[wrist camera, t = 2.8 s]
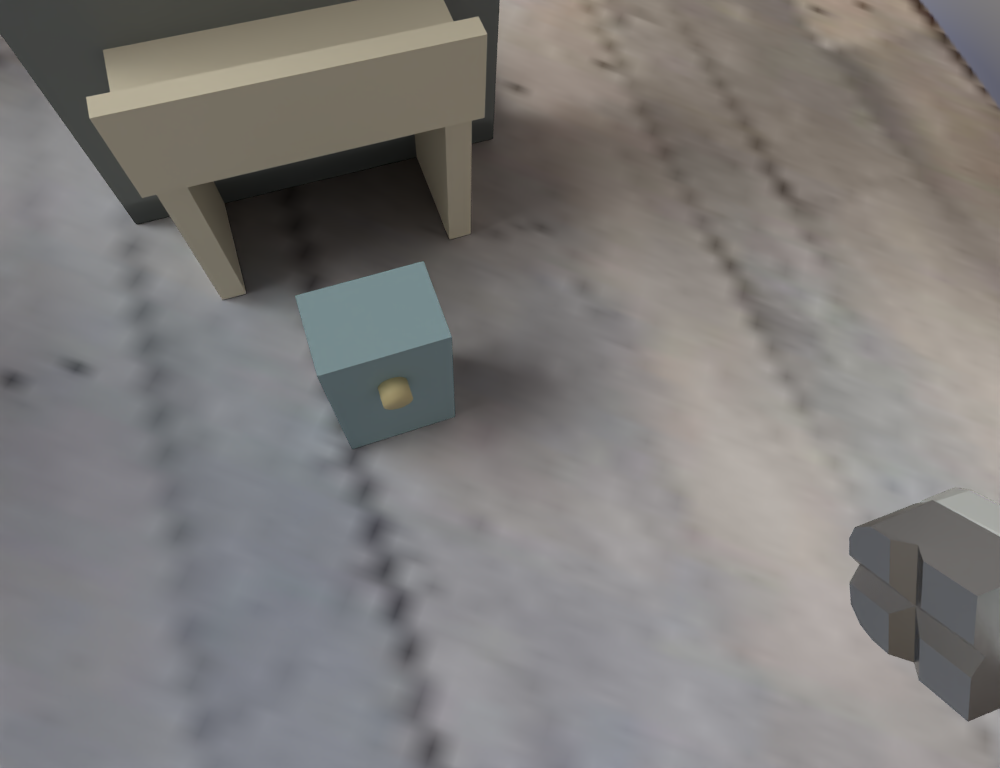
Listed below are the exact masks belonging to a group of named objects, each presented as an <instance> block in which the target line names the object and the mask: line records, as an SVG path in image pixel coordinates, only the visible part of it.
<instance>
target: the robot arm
mask: <svg viewBox="0 0 1000 768" xmlns="http://www.w3.org/2000/svg"><path fill="white" fill-rule="evenodd" d="M849 555H850V556H851V557H852V558H853V559H854V560H855V561H856V562H857V563H858V564H860V565H859V566H858V568H857V570H856V572H855V574H854V576H853V577H852V579H851V581H850V597H851V605H852V607H853V610H854V612H855V614H856V616H857V619H858V621H859V623H860V625H861V626H862V628H863V629H864V630H865V631H866V633H867V634H868V635H869V636H870V638H871V639H872V640H873V641H874V642H875V643H876V644H877V645H879V646H880V647H881V648H882V649H883V650H884V651H885V652H887V653H888V654H890V655H893V656H896V657H899V658H902V659H905V660H908V661H911V662H914V664H915V668H916V672H917V675H918V679H919V681H921V682H922V683H923V684H924V685H925V686H926V687H928V688H929V689H930V690H931V691H932V692H934V693H935V694H936V695H937V696H938V697H939V698H941V699H942V700H943V701H944V702H945V703H947V704H948V705H949V706H950V707H951V708H953V709H954V710H955V711H956V712H957V713H958V714H960V715H961V716H962V717H963V718H964V719H966V720H967V721H971V720H973V719H975V718H978V717H980V716H982V715H985V714H987V713H990V712H992V711H994V710H997V709H999V708H1000V504H998V503H996V502H994V501H992V500H990V499H988V498H986V497H984V496H982V495H980V494H978V493H976V492H974V491H972V490H968V489H962V488H956V487H955V488H952V489H950V490H947V491H945V492H942V493H940V494H937V495H935V496H932V497H930V498H927V499H925V500H922V501H921V502H920V503H915V504H913V505H910V506H908V507H905V508H903V509H900V510H898V511H895V512H893V513H890V514H887V515H885V516H882V517H880V518H877V519H875V520H872V521H870V522H867V523H865V524H862V525H860V526H857V527H855V528H854V530H853V532H852V534H851V536H850V538H849Z"/></svg>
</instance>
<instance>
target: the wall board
mask: <svg viewBox="0 0 1000 768" xmlns="http://www.w3.org/2000/svg"><path fill="white" fill-rule="evenodd" d="M498 21H499V0H0V34H1V35H2V36H3V38H4V39H5V41H6V42H7V43H8V45H9V46H10V48H11V49H12V51H13V52H14V53H15V55H16V56H17V58H18V59H19V60H20V62H21V63H22V65H23V66H24V67H25V69H26V70H27V72H28V73H29V74H30V76H31V77H32V79H33V80H34V81H35V83H36V84H37V86H38V87H39V88H40V90H41V91H42V93H43V94H44V95H45V97H46V98H47V100H48V101H49V102H50V104H51V105H52V107H53V108H54V110H55V111H56V112H57V114H58V115H59V117H60V118H61V119H62V121H63V122H64V124H65V125H66V126H67V128H68V129H69V131H70V132H71V133H72V135H73V136H74V138H75V139H76V140H77V142H78V143H79V145H80V146H81V147H82V149H83V150H84V152H85V153H86V154H87V156H88V157H89V159H90V160H91V162H92V163H93V164H94V166H95V167H96V169H97V170H98V171H99V173H100V174H101V176H102V177H103V178H104V180H105V181H106V183H107V184H108V185H109V187H110V188H111V190H112V191H113V192H114V194H115V195H116V197H117V198H118V199H119V201H120V202H121V204H122V205H123V206H124V208H125V209H126V211H127V212H128V213H129V215H130V216H131V218H132V219H133V221H134V222H135V223H136V224H140V223H144V222H148V221H152V220H156V219H161V218H165V217H169V216H170V217H171V219H172V220H173V222H174V223H175V225H176V227H177V228H178V230H179V231H180V233H181V235H182V236H183V238H184V239H185V241H186V243H187V244H188V246H189V247H190V249H191V250H192V252H193V254H194V255H195V257H196V258H197V260H198V262H199V263H200V265H201V266H202V268H203V270H204V271H205V273H206V274H207V276H208V278H209V279H210V281H211V282H212V284H213V286H214V287H215V289H216V290H217V292H218V293H219V295H220V297H221V298H222V300H224V299H228V298H232V297H236V296H239V295H243V294H246V289H245V285H244V281H243V277H242V273H241V269H240V265H239V261H238V257H237V253H236V248H235V244H234V240H233V236H232V232H231V228H230V224H229V220H228V216H227V212H226V208H225V203H227V202H231V201H235V200H240V199H244V198H248V197H252V196H256V195H260V194H264V193H269V192H273V191H277V190H281V189H285V188H289V187H293V186H298V185H302V184H306V183H310V182H314V181H318V180H323V179H327V178H331V177H335V176H339V175H343V174H347V173H352V172H356V171H360V170H364V169H368V168H372V167H377V166H381V165H385V164H389V163H393V162H397V161H401V160H406V159H410V158H414V157H417V159H418V161H419V164H420V167H421V169H422V172H423V174H424V177H425V179H426V182H427V184H428V187H429V189H430V192H431V194H432V197H433V199H434V202H435V204H436V207H437V209H438V212H439V215H440V217H441V220H442V222H443V225H444V227H445V230H446V232H447V235H448V237H449V240H450V239H454V238H457V237H461V236H465V235H469V234H471V149H472V143H476V142H480V141H485V140H489V139H493V124H494V104H495V83H496V62H497V42H498Z"/></svg>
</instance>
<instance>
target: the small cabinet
mask: <svg viewBox="0 0 1000 768" xmlns="http://www.w3.org/2000/svg"><path fill="white" fill-rule="evenodd" d="M295 298H296V301H297V305H298V309H299V312H300V316H301V319H302V323H303V327H304V330H305V334H306V338H307V341H308V345H309V348H310V352H311V356H312V359H313V363H314V366H315V370H316V374H317V377H318V379H319V381H320V383H321V385H322V387H323V389H324V392H325V394H326V396H327V398H328V400H329V402H330V404H331V406H332V408H333V410H334V412H335V415H336V417H337V419H338V421H339V423H340V425H341V427H342V429H343V431H344V433H345V436H346V438H347V440H348V442H349V444H350V446H351V448H352V449H354V448H358V447H361V446H364V445H367V444H370V443H373V442H377V441H380V440H383V439H386V438H389V437H392V436H396V435H399V434H402V433H405V432H408V431H411V430H415V429H418V428H421V427H424V426H427V425H431V424H434V423H437V422H440V421H443V420H446V419H450V418H453V417H455V403H454V379H453V355H452V336H451V334H450V331H449V328H448V325H447V323H446V320H445V317H444V315H443V312H442V309H441V307H440V304H439V301H438V299H437V296H436V293H435V291H434V288H433V285H432V283H431V280H430V277H429V274H428V272H427V269H426V266H425V264H424V261H422V262H418V263H414V264H411V265H407V266H403V267H400V268H396V269H392V270H388V271H385V272H381V273H377V274H374V275H370V276H366V277H363V278H359V279H355V280H351V281H348V282H344V283H340V284H337V285H333V286H329V287H325V288H322V289H318V290H314V291H311V292H307V293H303V294H300V295H296V296H295Z"/></svg>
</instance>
